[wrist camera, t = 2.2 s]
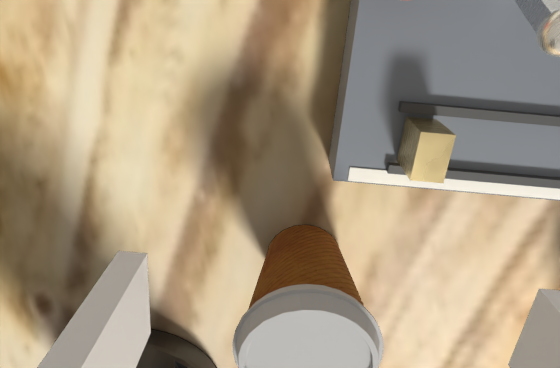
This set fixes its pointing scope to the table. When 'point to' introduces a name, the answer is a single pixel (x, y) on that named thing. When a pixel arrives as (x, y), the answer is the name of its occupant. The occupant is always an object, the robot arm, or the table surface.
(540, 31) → the steel lever
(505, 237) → the table surface
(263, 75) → the table surface
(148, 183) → the table surface
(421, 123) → the brass slider
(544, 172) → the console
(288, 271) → the disposable coffee cup
